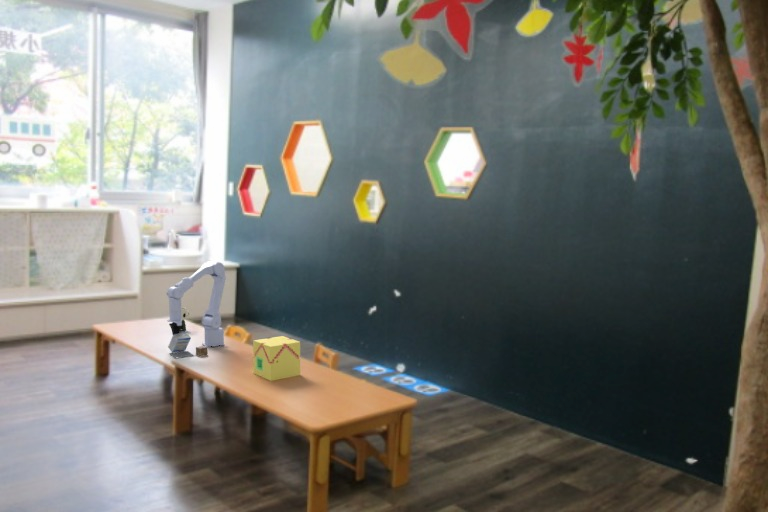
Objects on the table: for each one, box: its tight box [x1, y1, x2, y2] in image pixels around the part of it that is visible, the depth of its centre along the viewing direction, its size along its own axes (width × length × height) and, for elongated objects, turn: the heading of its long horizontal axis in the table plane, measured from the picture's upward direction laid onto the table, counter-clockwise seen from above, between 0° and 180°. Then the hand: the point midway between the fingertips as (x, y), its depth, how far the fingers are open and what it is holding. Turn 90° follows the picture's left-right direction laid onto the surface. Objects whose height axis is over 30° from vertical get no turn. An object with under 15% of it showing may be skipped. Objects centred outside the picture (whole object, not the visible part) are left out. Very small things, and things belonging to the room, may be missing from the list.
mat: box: [169, 350, 194, 358], centre depth 318 cm, size 9×10×1 cm
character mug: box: [180, 307, 190, 331], centre depth 373 cm, size 11×7×13 cm, turn 127°
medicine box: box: [167, 332, 192, 353], centre depth 323 cm, size 8×4×9 cm, turn 143°
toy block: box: [252, 335, 301, 382], centre depth 286 cm, size 15×15×15 cm
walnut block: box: [195, 345, 209, 357], centre depth 318 cm, size 4×4×4 cm
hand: (175, 337), depth 324 cm, fingers closed
